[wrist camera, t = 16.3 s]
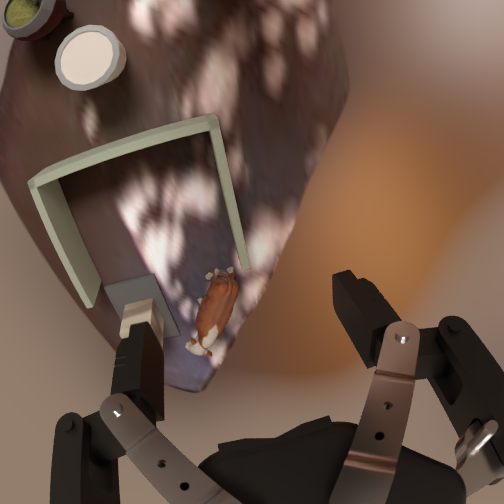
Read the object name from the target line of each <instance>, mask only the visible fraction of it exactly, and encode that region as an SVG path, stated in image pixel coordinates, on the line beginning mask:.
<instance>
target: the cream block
mask: <svg viewBox="0 0 504 504" xmlns="http://www.w3.org/2000/svg"><path fill="white" fill-rule="evenodd" d="M145 321H148V322H149V324H150V326H151V327H152V329H153V331H154V333H155V335H156V337H157V339H158V341H159V343H160V344H161V347H162V350H163V328H164V320H163V318H162V316H161V314H160V312H159V310H158V308H157V306H156V304H155V301H154V299H153V298H151V299H147V300H143V301H139V302H135V303H131V304H127V305H125V308H124V313H123V318H122V323H121V329H120V336H121V338H122V339H123V338H127V337H128V336H129V329H130V325H132V324H136V323H141V322H145Z"/></svg>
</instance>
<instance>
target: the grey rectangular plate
mask: <svg viewBox="0 0 504 504" xmlns="http://www.w3.org/2000/svg"><path fill="white" fill-rule="evenodd" d="M104 289H105V291H106V293H107V295H108V297H109V299H110V301H111V303H112V305H113V306H114V308H115V310H116V312H117V314H118V316H119V317H120V319H121V321H122V318H123V313H124V308H125V305H127V304H131V303H135V302H139V301H143V300H147V299H151V298H153V299H154V301H155V304H156V306H157V308H158V310H159V312H160V314H161V316H162V318H163V320H164V328H163V339H164V338H168V337H173V336H177V335H180V331H179V329H178V327H177V325H176V323H175V321H174V318H173V316H172V314H171V312H170V309H169V307H168V305H167V303H166V300H165V298H164V296H163V293H162V291H161V289H160V286H159V284H158V281H157V279H156V277H155V274H150V275H146V276H142V277H138V278H134V279H130V280H126V281H122V282H119V283H115V284H111V285H107V286H104Z"/></svg>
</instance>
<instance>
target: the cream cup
mask: <svg viewBox="0 0 504 504" xmlns="http://www.w3.org/2000/svg"><path fill="white" fill-rule="evenodd" d="M126 60H127V58H126V50H125V49H124V47H123V46H122V44H121V43H120V41H119V40H118V39H117V38H116V36H115V35H114V34H113V32H111V31H110V30H108V29H106V28H105V27H103V26H98V25H87V26H84V27H81V28H78V29H76V30H75V31H73V32H72V33H71V34H69V35H68V36H67V37H66V38H65V39H64V41H63V42H62V43H61V45H60V46H59V48H58V51H57V54H56V58H55V69H56V74H57V76H58V78H59V79H60V81H61V83H62V84H64V85H65V86H67V87H68V88H70V89H71V90H79V91H85V90H89V89H92V88H96V87H98V86H101V85H103V84H106V83H108V82H111V81H112V80H113V79H115V78H116V77H118V76H119V75H120V73H121V72H122V71H123V69H124V67H125V64H126Z"/></svg>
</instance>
